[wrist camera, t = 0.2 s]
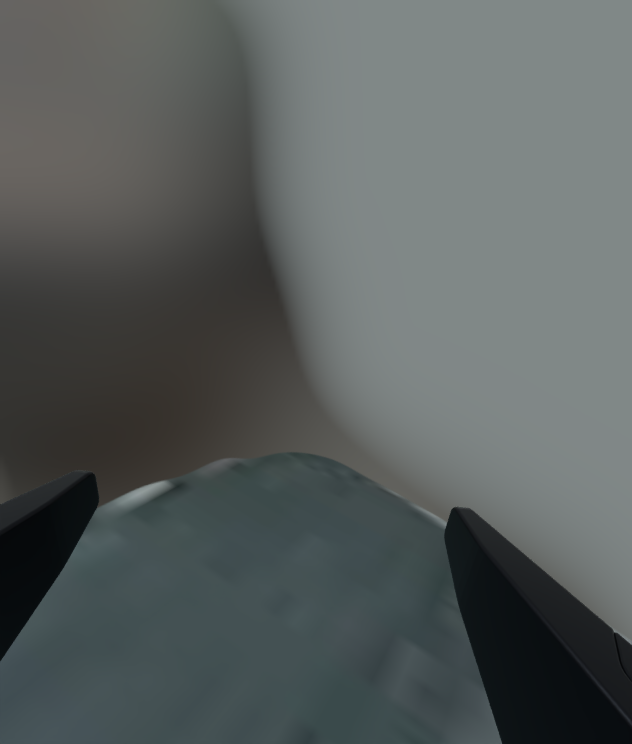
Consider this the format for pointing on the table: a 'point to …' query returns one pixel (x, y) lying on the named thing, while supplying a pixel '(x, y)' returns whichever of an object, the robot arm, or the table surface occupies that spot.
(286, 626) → the table surface
